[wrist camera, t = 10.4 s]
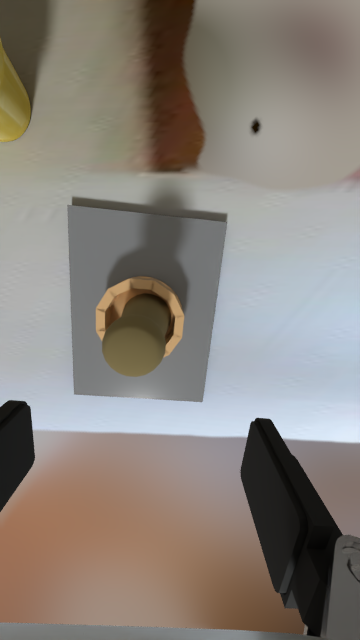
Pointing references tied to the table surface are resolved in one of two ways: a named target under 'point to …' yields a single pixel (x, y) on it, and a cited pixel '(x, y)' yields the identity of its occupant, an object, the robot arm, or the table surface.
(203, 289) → the slate board
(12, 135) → the plant pot
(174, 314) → the tan shallow bowl
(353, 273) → the table surface
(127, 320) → the cork
